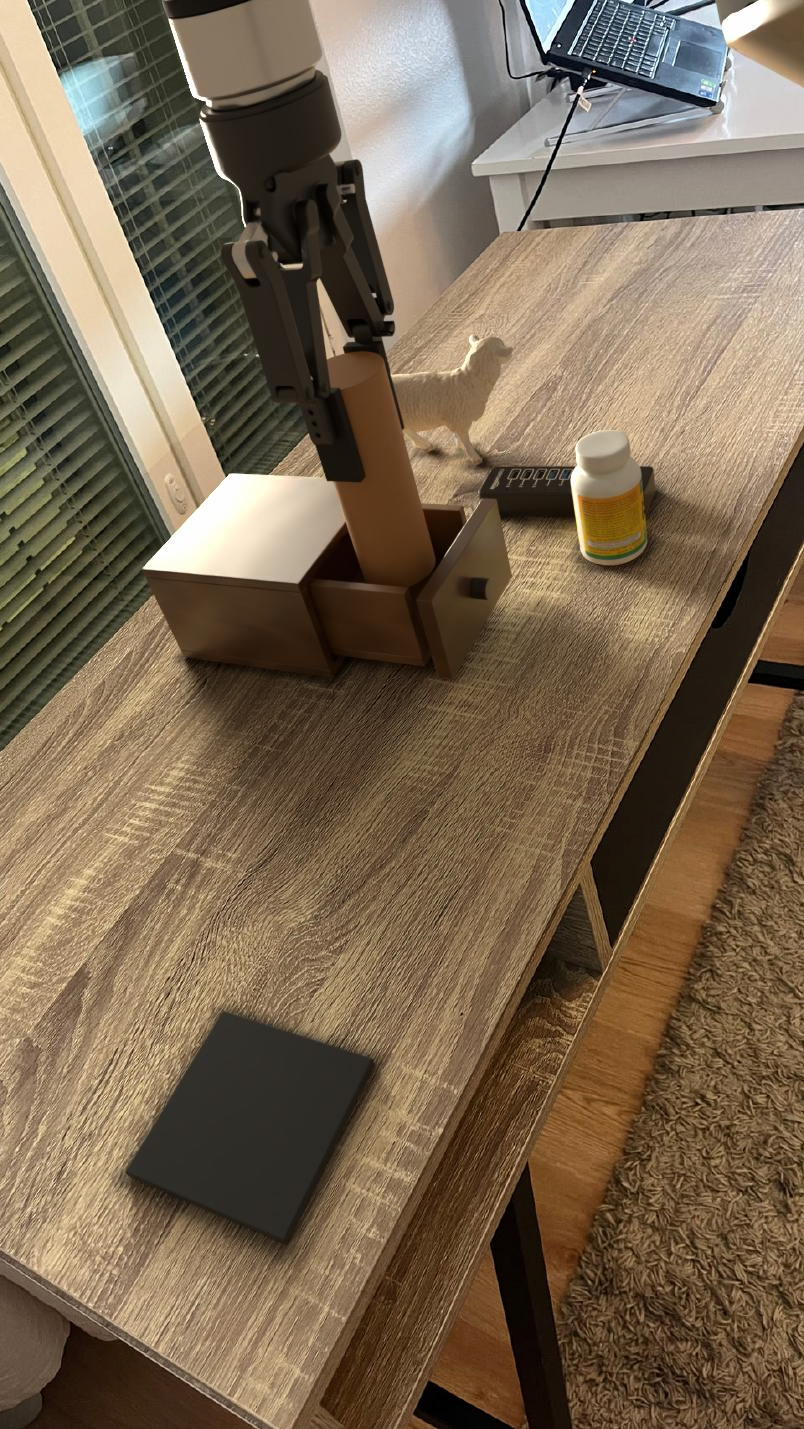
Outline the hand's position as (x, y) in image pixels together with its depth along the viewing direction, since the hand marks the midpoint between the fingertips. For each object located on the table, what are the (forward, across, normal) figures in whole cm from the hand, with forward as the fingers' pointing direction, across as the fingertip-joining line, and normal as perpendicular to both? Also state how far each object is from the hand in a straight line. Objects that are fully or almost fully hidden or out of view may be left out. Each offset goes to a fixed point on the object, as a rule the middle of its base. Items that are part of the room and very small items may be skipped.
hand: (366, 453), depth 75 cm
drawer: (+15, 0, 0) cm, 15 cm away
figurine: (+16, -25, -8) cm, 31 cm away
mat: (+16, +40, +8) cm, 44 cm away
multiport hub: (+16, -18, +6) cm, 25 cm away
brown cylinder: (+10, 0, 0) cm, 10 cm away
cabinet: (+16, 0, -12) cm, 20 cm away
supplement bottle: (+16, -12, +12) cm, 24 cm away
